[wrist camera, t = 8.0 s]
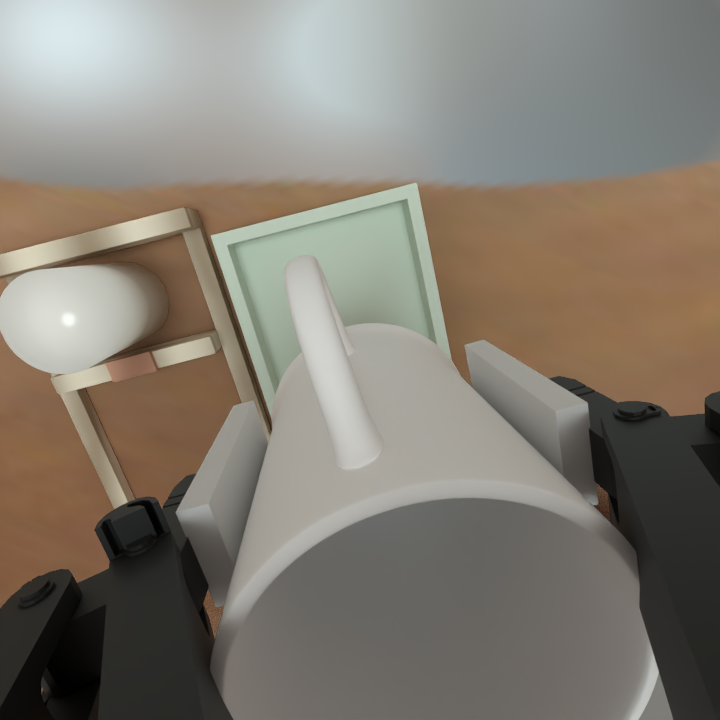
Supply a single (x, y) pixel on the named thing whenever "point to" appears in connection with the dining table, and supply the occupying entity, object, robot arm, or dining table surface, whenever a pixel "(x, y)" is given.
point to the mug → (418, 551)
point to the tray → (333, 273)
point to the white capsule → (80, 313)
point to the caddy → (144, 358)
